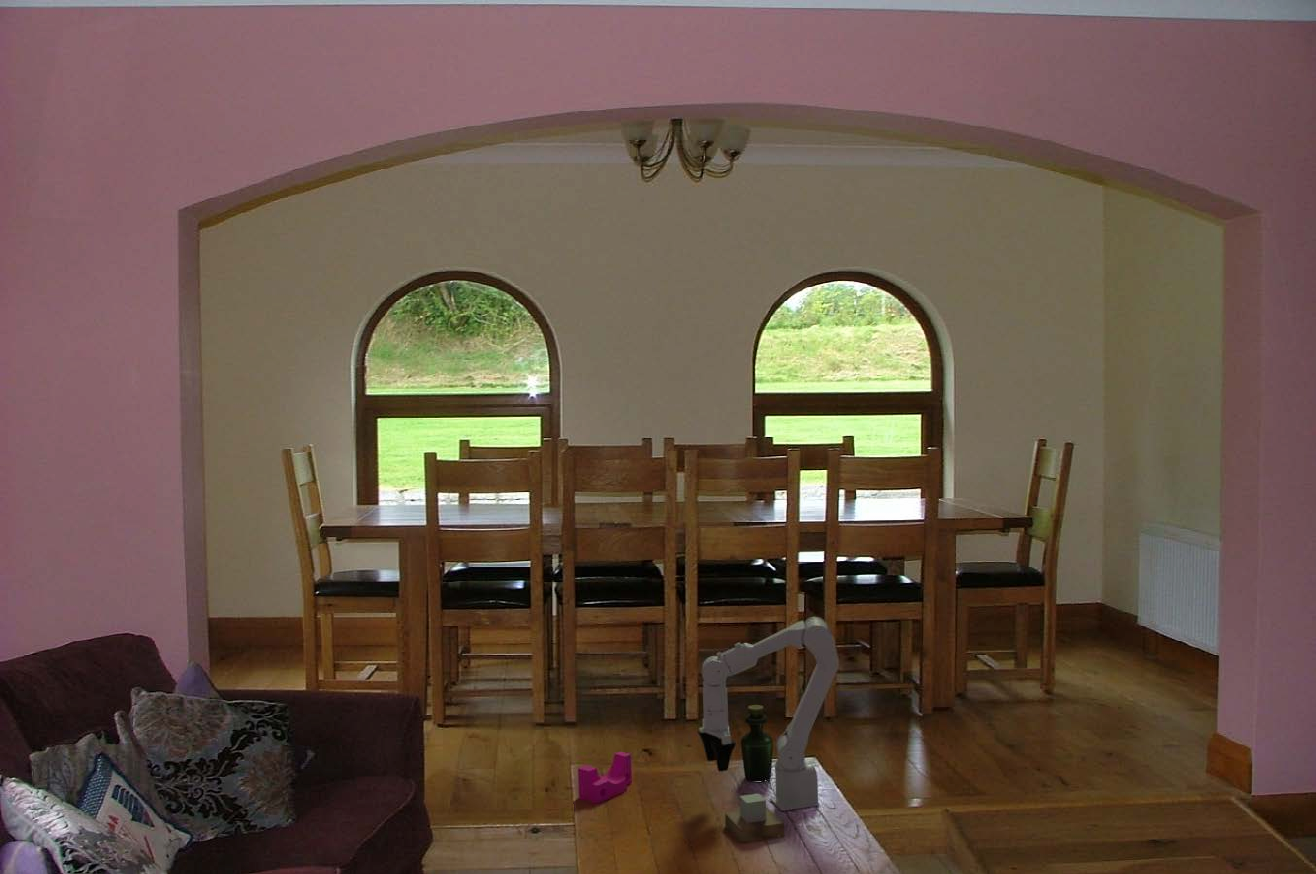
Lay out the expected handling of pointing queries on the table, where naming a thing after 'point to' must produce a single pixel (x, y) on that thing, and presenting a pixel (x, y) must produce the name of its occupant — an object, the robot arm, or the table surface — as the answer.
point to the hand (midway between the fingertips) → (717, 765)
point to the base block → (754, 827)
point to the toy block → (605, 779)
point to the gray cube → (753, 808)
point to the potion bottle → (757, 746)
